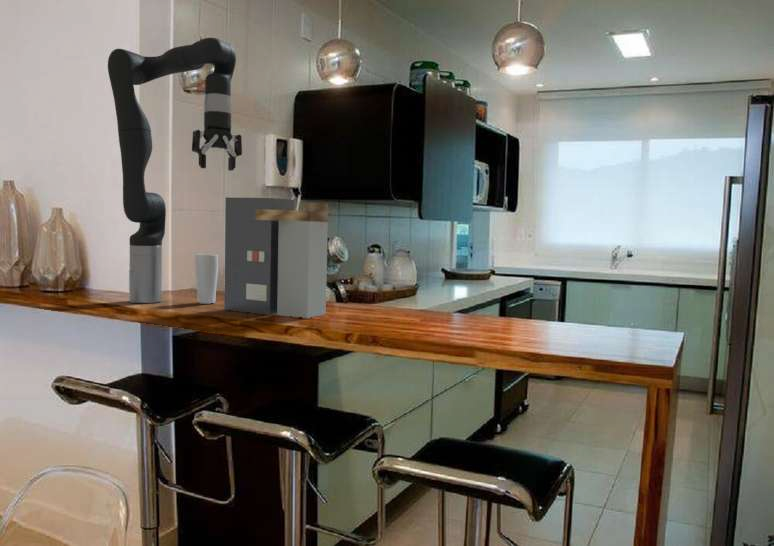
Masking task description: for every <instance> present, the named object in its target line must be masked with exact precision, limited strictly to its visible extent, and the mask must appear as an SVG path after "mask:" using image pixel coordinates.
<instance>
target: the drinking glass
mask: <svg viewBox="0 0 774 546" xmlns="http://www.w3.org/2000/svg"><path fill="white" fill-rule="evenodd" d="M194 260H195V261H194V264H195V265H194V267H195V281H196V292H197V293H196V294H197V299H196V301H197V303H198V304H200V305H212V304H211V303H213V304H215V303H216V299H217V298H216V296H217V295H216V293H217V284H218V283H217V282H218V274H219V273H218V272H219V254H216V253H196V254H195V259H194Z"/></svg>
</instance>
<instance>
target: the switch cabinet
mask: <svg viewBox="0 0 774 546" xmlns="http://www.w3.org/2000/svg"><path fill="white" fill-rule="evenodd" d="M256 209H267V210H295V199H290V198H275V197H225V210H224V211H225V214H224V215H225V217H224V219H225V222H224V223H225V227H224V244H225V245H224V248H225V249H224V308H223V310H224V311H228V310H231V311H232V312H237V311H239V313H246V312H250V313H249V314H255V313H257V314H258V315H265V316H271V315H277V291H278V231H279V220H255V212H256Z"/></svg>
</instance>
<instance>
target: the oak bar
mask: <svg viewBox="0 0 774 546" xmlns="http://www.w3.org/2000/svg"><path fill="white" fill-rule="evenodd" d="M255 220H281V221H315V222H328V221H329V203H325V202H324V203H323V202H305V210H295V209H294V210H267V209H256V212H255Z"/></svg>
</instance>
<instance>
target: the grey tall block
mask: <svg viewBox="0 0 774 546" xmlns="http://www.w3.org/2000/svg"><path fill="white" fill-rule="evenodd" d="M328 225H329V223H328V222H315V221H281V220H279V231H278V291H277V314H276V316H282V317H283V316H284V317H290V316H292V317H291V318H299V317H302V319H312V318H315V317H316V316H317V317H321V316H325V315H326V314H327V307H326V306H327V276H328V273H327V271H328V269H327V268H328V235H329V234H328V233H329V232H328V231H329V230H328V228H329V227H328ZM311 317H312V318H311Z"/></svg>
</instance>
